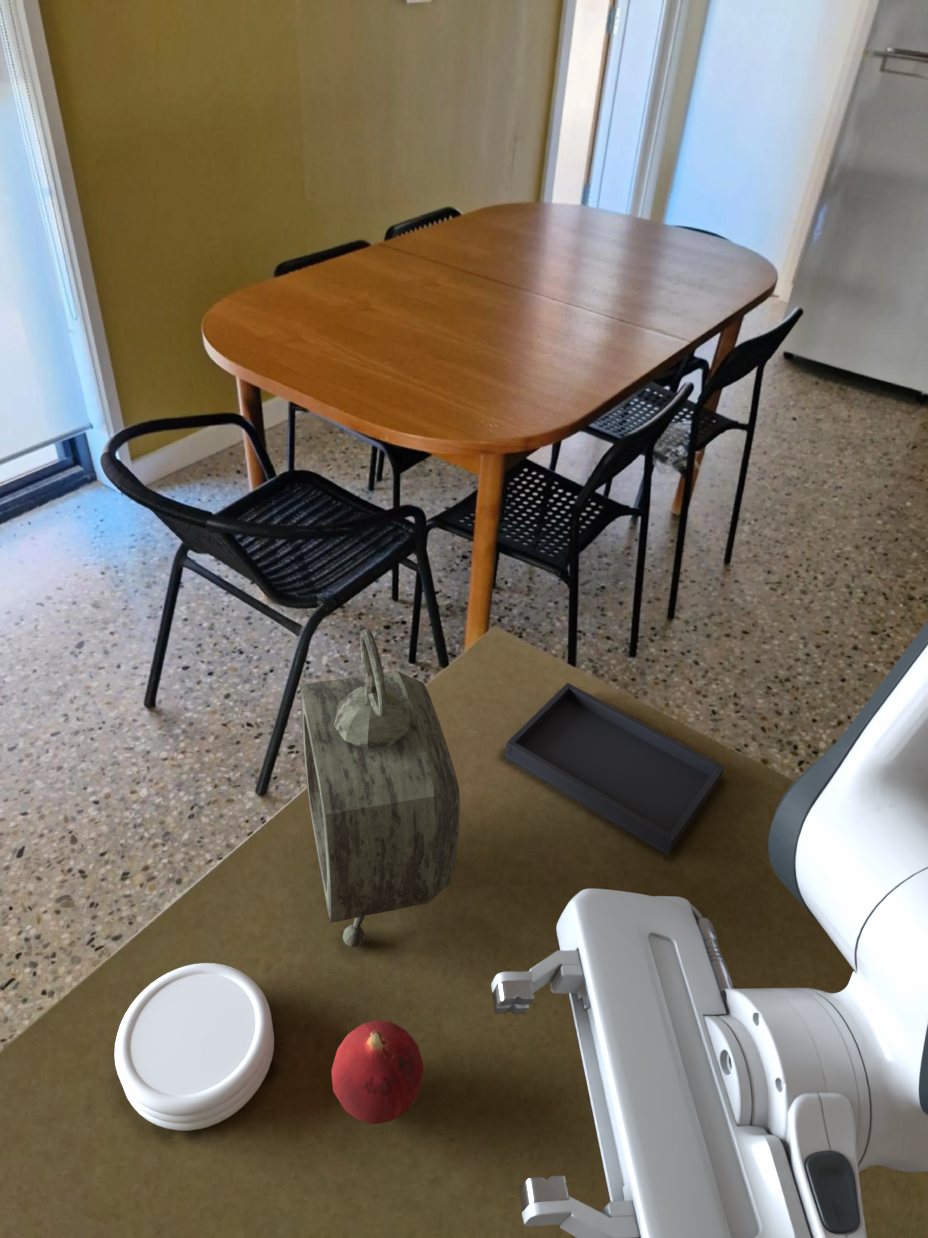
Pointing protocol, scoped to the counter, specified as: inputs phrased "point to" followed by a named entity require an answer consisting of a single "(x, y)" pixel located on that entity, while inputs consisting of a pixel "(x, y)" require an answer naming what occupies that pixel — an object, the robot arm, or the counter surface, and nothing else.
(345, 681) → the tabletop clock
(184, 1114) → the white round flat cylinder
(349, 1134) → the counter surface
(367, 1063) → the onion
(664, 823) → the baking tray
